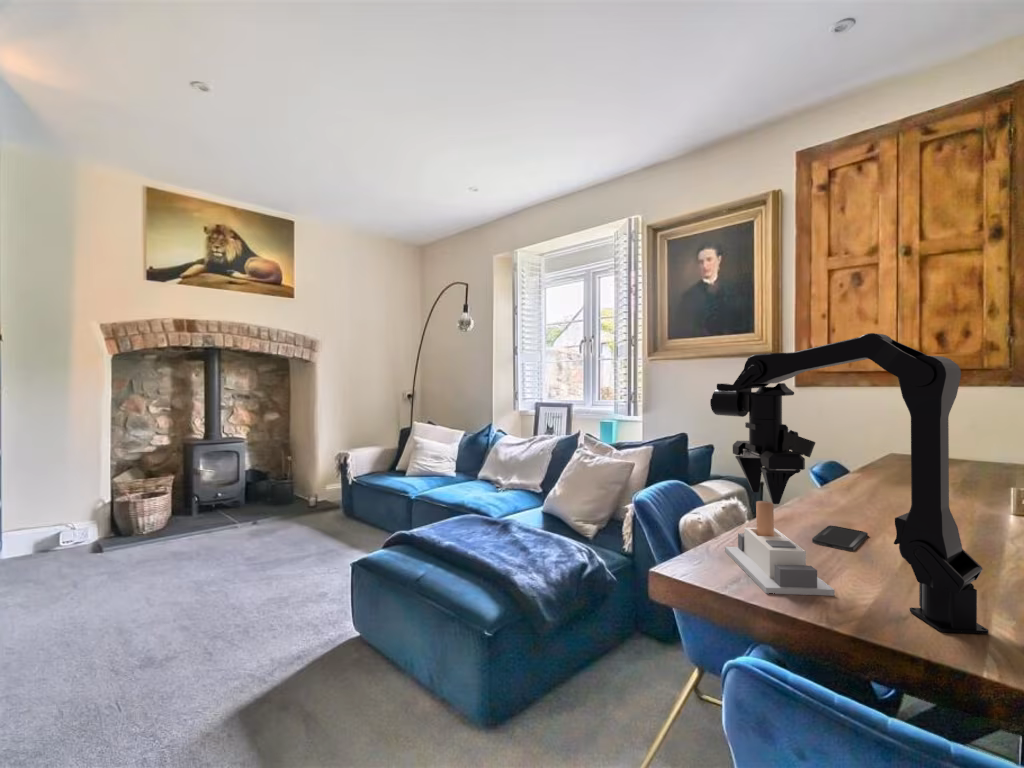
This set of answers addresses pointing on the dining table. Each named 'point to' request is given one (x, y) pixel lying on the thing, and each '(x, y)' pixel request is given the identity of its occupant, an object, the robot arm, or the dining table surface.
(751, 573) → the board
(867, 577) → the dining table surface
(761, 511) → the orange-brown tapered capsule
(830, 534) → the phone
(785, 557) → the white socket block
